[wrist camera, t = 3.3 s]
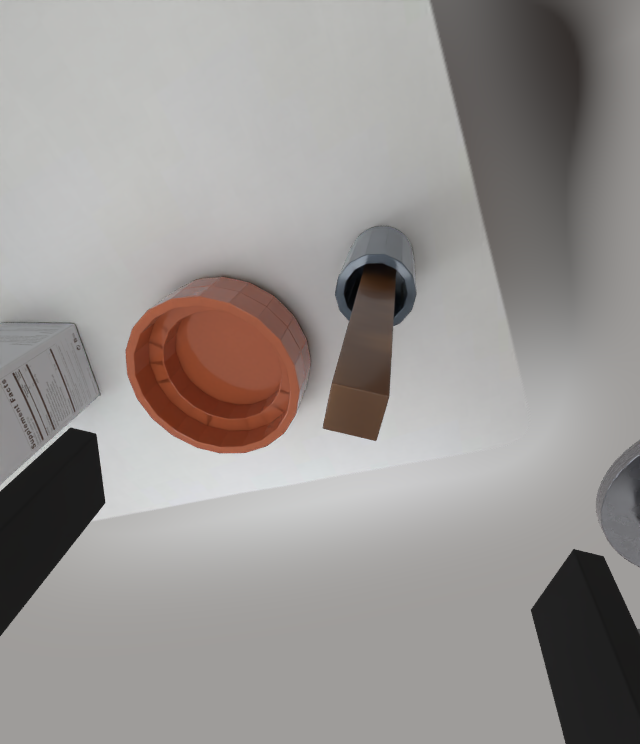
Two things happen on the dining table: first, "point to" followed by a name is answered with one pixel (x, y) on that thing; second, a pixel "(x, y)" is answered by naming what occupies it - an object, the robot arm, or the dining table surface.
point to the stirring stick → (365, 358)
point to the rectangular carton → (39, 387)
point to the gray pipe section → (379, 248)
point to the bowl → (219, 365)
